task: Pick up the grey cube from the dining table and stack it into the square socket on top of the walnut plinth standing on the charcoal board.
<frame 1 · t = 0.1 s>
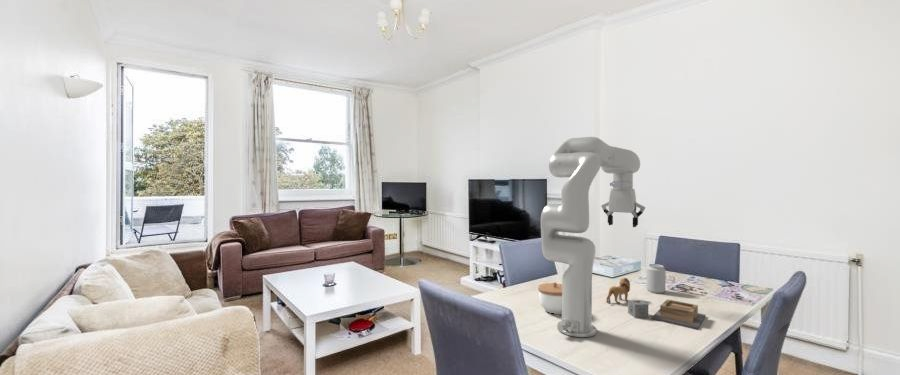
hand: (622, 225, 158), 31 cm above the table, tool pointing down, fingers open, 9 cm apart
lidded bowl: (554, 311, 144), on the table
lion figurine: (618, 301, 156), on the table
can: (655, 291, 169), on the table
grey cube: (638, 316, 140), on the table
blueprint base: (678, 317, 137), on the table
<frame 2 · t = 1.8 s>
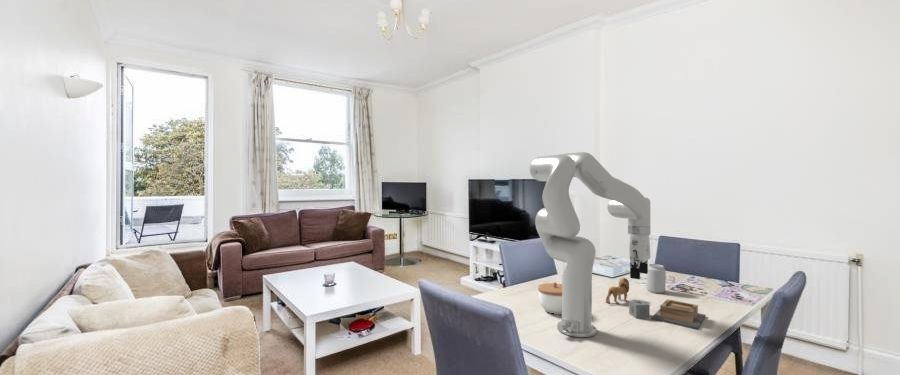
hand: (639, 275, 140), 15 cm above the table, tool pointing down, fingers open, 9 cm apart
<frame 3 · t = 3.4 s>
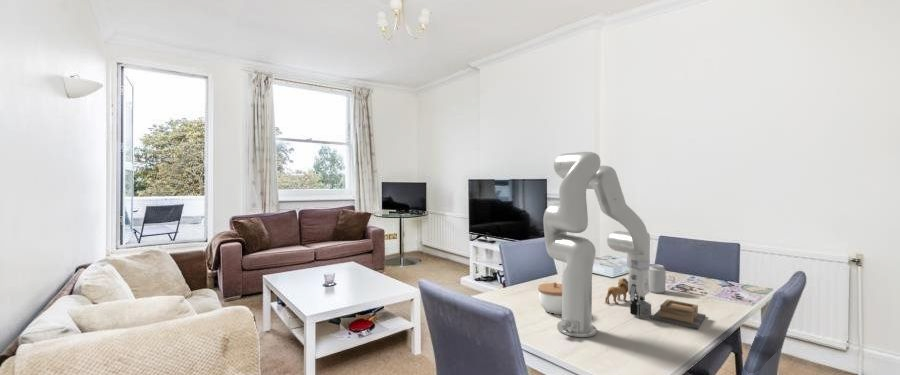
hand: (637, 311, 140), 1 cm above the table, tool pointing down, fingers closed on grey cube, 5 cm apart
grey cube: (640, 316, 139), on the table, touching gripper
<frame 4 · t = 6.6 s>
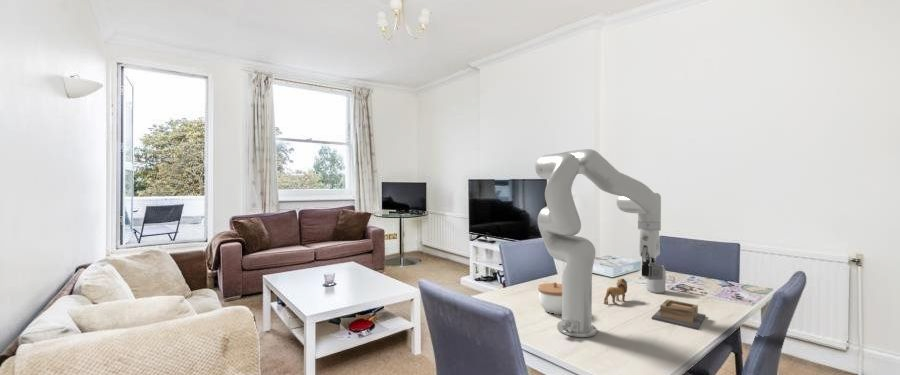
hand: (648, 273, 139), 16 cm above the table, tool pointing down, fingers closed on grey cube, 5 cm apart
grey cube: (651, 278, 138), point 14 cm above the table, touching gripper
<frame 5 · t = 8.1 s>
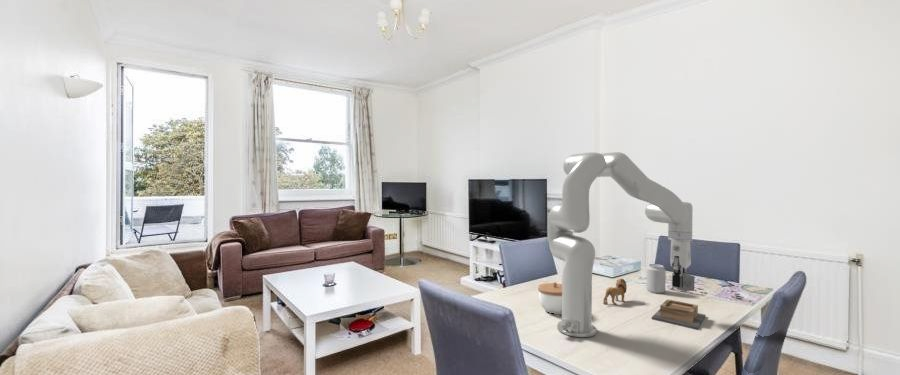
hand: (679, 284, 137), 12 cm above the table, tool pointing down, fingers closed on grey cube, 5 cm apart
grey cube: (682, 289, 136), point 11 cm above the table, touching gripper
when the fingers open (6 cm above the table, at t = 9.5 s): grey cube stays where it is, resting on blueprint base.
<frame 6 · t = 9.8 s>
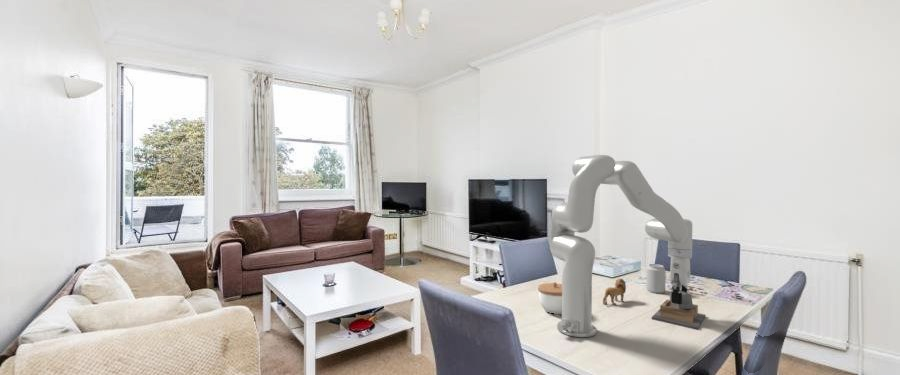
hand: (679, 300, 137), 6 cm above the table, tool pointing down, fingers open, 7 cm apart
grey cube: (682, 307, 136), point 4 cm above the table, touching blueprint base
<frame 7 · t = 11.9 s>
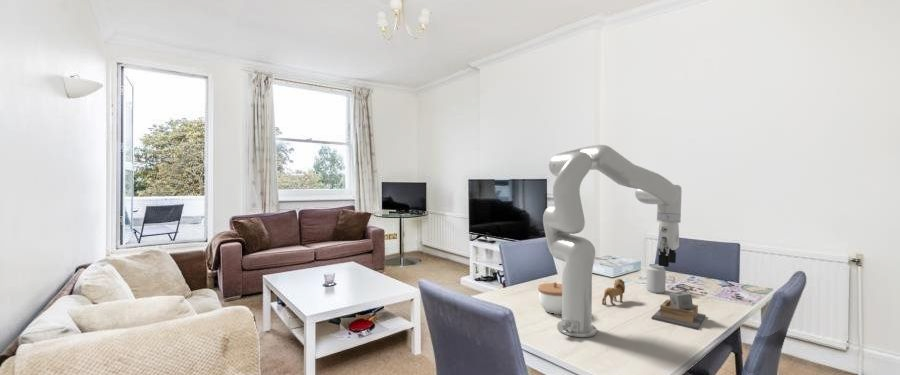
hand: (667, 264, 138), 20 cm above the table, tool pointing down, fingers open, 9 cm apart
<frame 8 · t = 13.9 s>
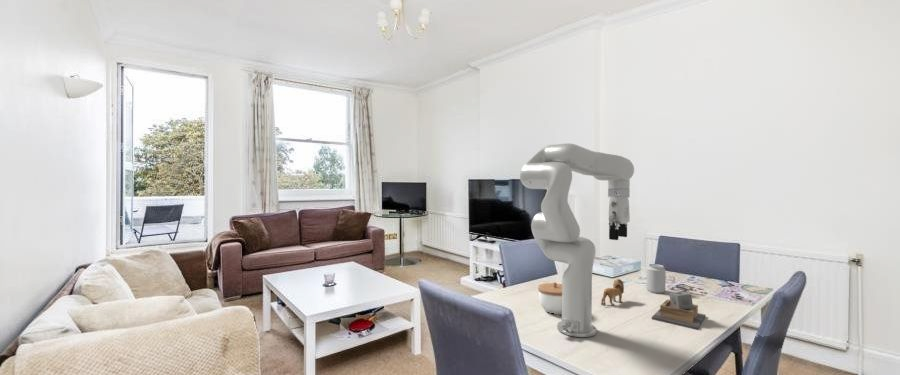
hand: (618, 238, 143), 28 cm above the table, tool pointing down, fingers open, 9 cm apart
at the end: grey cube 1.0 cm off-centre on the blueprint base, point 4.0 cm above the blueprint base's base; grey cube tilted 8°; the gripper is holding nothing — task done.
